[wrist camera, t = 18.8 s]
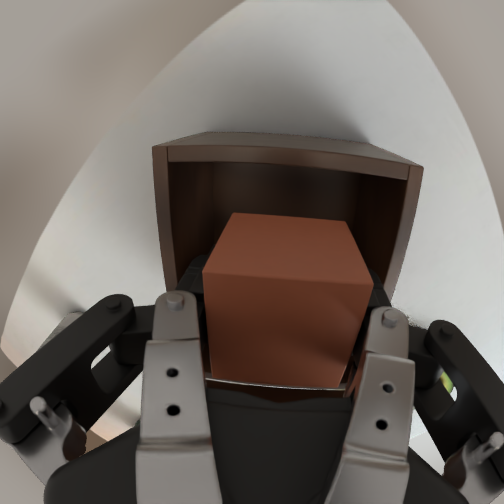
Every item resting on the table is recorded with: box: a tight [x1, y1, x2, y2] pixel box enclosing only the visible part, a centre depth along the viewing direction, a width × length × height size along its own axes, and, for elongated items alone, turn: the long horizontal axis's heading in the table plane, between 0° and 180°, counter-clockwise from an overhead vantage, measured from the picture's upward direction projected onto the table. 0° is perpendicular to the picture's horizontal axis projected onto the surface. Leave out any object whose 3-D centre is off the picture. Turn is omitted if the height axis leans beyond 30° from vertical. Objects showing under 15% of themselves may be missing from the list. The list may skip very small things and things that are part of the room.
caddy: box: [152, 132, 424, 389], centre depth 19 cm, size 16×13×9 cm
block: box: [202, 213, 374, 388], centre depth 10 cm, size 5×5×5 cm
